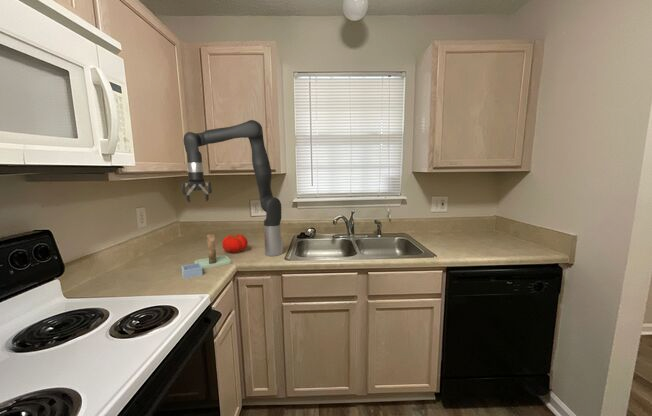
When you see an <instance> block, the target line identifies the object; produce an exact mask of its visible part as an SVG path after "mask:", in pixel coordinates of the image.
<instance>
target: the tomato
mask: <svg viewBox="0 0 652 416" xmlns="http://www.w3.org/2000/svg"><path fill="white" fill-rule="evenodd" d="M221 243H222V245H221V246H222V249H223V250H224V251H226V252H227V253H233V254H235V253H238V252H243V251H244V250H245V249H247V246H248V243H249V242H248V238H246V236H244V235H243V234H240V233H236V234H233V235H232V234H230V235H227V236H226V237H225V238H223V240H222V242H221Z"/></svg>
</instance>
